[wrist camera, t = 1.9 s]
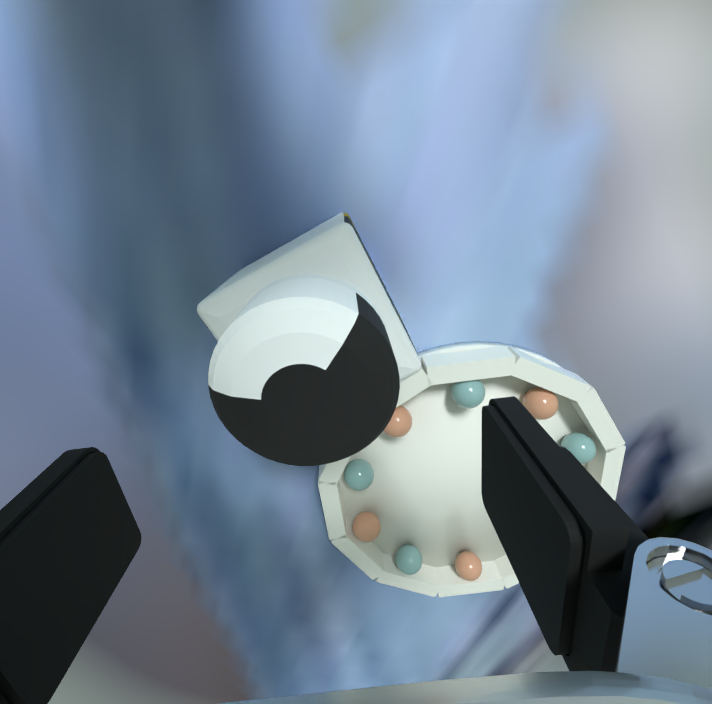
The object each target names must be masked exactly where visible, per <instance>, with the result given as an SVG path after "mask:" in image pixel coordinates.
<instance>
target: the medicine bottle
mask: <svg viewBox="0 0 712 704" xmlns="http://www.w3.org/2000/svg"><path fill="white" fill-rule="evenodd" d="M197 312H198V315H199V316H200V317H201V319H202V320H203V321H204V323H205V324H206V326H207V327H208V328H209V330H210V331H211V332H212V334H213V335H214V336H215V338H216V339H217V340H218V343H217V345H216V347H215V348H214V351H213V354H212V357H211V360H210V365H209V372H208V386H209V392H210V397H211V400H212V403H213V406H214V409H215V411H216V413H217V415H218V417H219V419H220V420H221V421H222V423H223V424H224V426H225V427H226V429H227V430H228V431H229V432H230V433H231V434H232V435H233V436H234V437H235V438H236V439H237V440H238V441H240V442H241V443H242V444H243V445H244V446H246V447H248V448H249V449H251V450H252V451H254V452H255V453H257V454H259V455H261V456H263V457H265V458H268V459H271V460H273V461H276V462H280V463H284V464H289V465H297V466H315V465H324V464H328V463H333V462H336V461H339V460H342V459H345V458H348V457H350V456H352V455H354V454H356V453H358V452H359V451H361V450H362V449H364V448H365V447H367V446H368V445H369V444H371V443H372V442H373V441H374V440H375V439H376V438H377V437H378V436H379V435H380V434H381V433H382V432H383V431H384V429H385V428H386V426H387V425H388V423H389V422H390V420H391V418H392V416H393V414H394V411H395V409H396V405H397V402H398V398H399V390H400V381H401V380H403V379H405V378H407V377H409V376H411V375H413V374H416V373H417V372H419V371H420V369H421V366H422V365H421V361H420V358H419V356H418V354H417V352H416V350H415V348H414V345H413V343H412V341H411V339H410V337H409V335H408V333H407V330H406V328H405V326H404V324H403V322H402V320H401V317H400V315H399V313H398V311H397V309H396V308H395V306H394V304H393V302H392V300H391V298H390V296H389V294H388V292H387V290H386V288H385V286H384V284H383V282H382V280H381V278H380V276H379V274H378V272H377V270H376V268H375V266H374V264H373V262H372V260H371V258H370V256H369V254H368V252H367V250H366V248H365V246H364V244H363V242H362V240H361V238H360V236H359V234H358V232H357V231H356V229H355V227H354V225H353V223H352V221H351V219H350V217H349V215H348V214H347V213H344V212H343V213H339V214H337V215H336V216H334V217H332V218H330V219H329V220H327V221H325V222H323V223H322V224H320V225H318V226H316V227H315V228H313V229H311V230H309V231H308V232H306V233H304V234H302V235H301V236H299V237H297V238H295V239H293V240H292V241H290V242H288V243H286V244H285V245H283V246H281V247H279V248H278V249H276V250H274V251H272V252H271V253H269V254H267V255H265V256H264V257H262V258H260V259H258V260H257V261H255V262H253V263H251V264H250V265H248V266H246V267H244V268H242V269H241V270H239V271H238V272H237V273H235V274H234V275H233V276H232V277H230V278H229V279H228V280H227V281H226V282H224V283H223V284H222V285H221V286H219V287H218V288H217V289H216V290H214V291H213V292H212V293H211V294H210V295H208V296H207V297H206V298H205V299H203V300H202V301H201V302H200V303H199V304H198V306H197Z"/></svg>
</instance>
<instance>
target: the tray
mask: <svg viewBox="0 0 712 704" xmlns="http://www.w3.org/2000/svg"><path fill="white" fill-rule="evenodd" d="M417 354H418V356H419V358H420V361H421V365H422V366H421V369H420V371H419V372H417V373H416V374H413V375H411V376H409V377H407V378H405V379H403V380H401V381H400V390H399V398H398V402H397V405H396V409H395V411H394V414H393V416H392V418H391V420H390V422H389V423H388V425H387V426H386V428H385V429H384V431H383V432H382V433H381V434H380V435H379V436H378V437H377V438H376V439H375V440H374V441H373V442H372V443H371V444H369V445H368V446H367V447H365V448H364V449H362V450H361V451H359V452H358V453H356V454H354V455H352V456H350V457H348V458H345V459H342V460H339V461H336V462H333V463H328V464H324V465H320V466H319V476H318V487H319V492H320V497H321V502H322V507H323V511H324V516H325V521H326V526H327V531H328V536H329V540H331V543H332V544H333V545H334V546H335V547H336V548H338V549H339V550H340V551H341V552H342V553H343V554H344V555H345V556H346V557H348V558H349V559H350V560H351V561H352V562H353V563H354V564H355V565H356V566H358V567H359V568H360V569H361V570H362V571H363V572H364V573H365V574H366V575H368V576H369V577H370V578H371V579H372V580H374V579H376V582H379V583H383V584H386V585H390V586H394V587H398V588H402V589H406V590H410V591H413V592H417V593H421V594H425V595H429V596H433V597H435V596H436V595H437V594H438V597H446V596H454V595H463V594H471V593H480V592H489V591H497V590H503V588H504V586H505V587H506V588H507V589H508V588H510V587H512V586H514V585H516V584H518V583H519V581H518V579H517V577H516V575H515V572H514V570H513V568H512V566H511V564H510V562H509V559H508V557H507V555H506V553H505V551H504V549H503V546H502V544H501V542H500V540H499V538H498V535H497V533H496V531H495V529H494V527H493V525H492V522H491V520H490V518H489V516H488V514H487V512H486V509H485V507H484V504H483V500H482V492H481V470H482V407H483V406H487V405H489V401H490V399H495V398H503V397H512V396H515V397H516V398H517V399H518V400H519V401H520V402H521V403H522V404H523V405H524V407H525V408H526V409H527V410H528V411H529V412H530V413H531V415H532V416H533V417H534V418H535V419H536V420H537V421H538V423H539V424H540V425H541V426H542V427H543V428H544V429H545V431H546V432H547V433H548V434H549V435H550V436H551V437H552V439H553V440H554V441H555V442H556V443H557V444H558V445H559V446H562V447H565V448H566V449H568V450H569V451H570V452H571V453H572V454H573V455H574V456H575V457H576V459H577V460H578V461H579V462H580V463H581V464H582V465H583V466H584V467H585V469H586V470H587V471H588V472H589V473H590V474H591V475H592V476H593V477H594V479H595V480H596V481H597V482H598V483H599V484H600V485H601V486H602V487H603V489H604V490H605V491H606V492H607V493H608V494H609V495H610V496H611V497H612V499H613V500H614V501H615V499H616V494H617V489H618V484H619V479H620V474H621V469H622V464H623V458H624V453H625V448H626V447H625V446H624V445H623V444H625V442H624V440H623V439H622V437H621V435H620V433H619V431H618V430H617V428H616V426H615V424H614V423H613V421H612V419H611V417H610V415H609V414H608V412H607V410H606V408H605V406H604V405H603V403H602V401H601V399H600V397H599V396H598V394H597V392H596V390H595V389H594V388H593V387H592V386H591V385H589V384H588V383H587V382H586V381H584V380H583V379H582V378H581V377H579V376H578V375H577V374H575V373H573V372H570V371H568V370H565V369H563V368H562V367H561V366H559V365H558V364H556V363H555V362H554V361H552V360H550V359H548V358H546V357H544V356H542V355H540V354H539V353H537V352H534V351H531V350H528V349H525V348H522V347H519V346H514V345H509V344H503V343H496V342H463V343H454V344H449V345H444V346H438V347H435V348H431V349H428V350H425V351H422V352H418V353H417Z"/></svg>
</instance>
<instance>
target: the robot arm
mask: <svg viewBox="0 0 712 704" xmlns="http://www.w3.org/2000/svg"><path fill="white" fill-rule="evenodd" d="M481 492H482V500H483V504H484V507H485V509H486V512H487V514H488V516H489V518H490V520H491V522H492V525H493V527H494V529H495V531H496V533H497V535H498V538H499V540H500V542H501V544H502V546H503V549H504V551H505V553H506V555H507V557H508V559H509V562H510V564H511V566H512V568H513V570H514V572H515V575H516V577H517V579H518V581H519V583H520V586H521V588H522V590H523V592H524V594H525V596H526V599H527V601H528V603H529V605H530V607H531V610H532V612H533V614H534V616H535V618H536V620H537V623H538V625H539V627H540V629H541V631H542V633H543V636H544V638H545V640H546V642H547V644H548V646H549V648H550V650H551V651H552V653H553V654H554V655H562V656H563V658H564V660H565V662H566V665H567V667H568V669H569V671H567V672H536V673H524V674H512V675H499V676H487V677H475V678H463V679H451V680H439V681H429V682H419V683H409V684H400V685H390V686H380V687H371V688H361V689H351V690H342V691H332V692H322V693H313V694H303V695H293V696H284V697H274V698H265V699H256V700H247V701H237V702H229V703H219V704H712V550H709V549H707V548H705V547H702V546H700V545H698V544H695V543H692V542H688V541H684V540H680V539H676V538H662V537H660V538H655V539H649V538H648V537H647V536H646V535H645V534H644V533H643V532H642V531H641V530H640V529H639V527H638V526H637V525H636V524H635V523H634V522H633V521H632V520H631V519H630V517H629V516H628V515H627V514H626V513H625V512H624V511H623V510H622V509H621V507H620V506H619V505H618V504H617V503H616V502H615V501H614V500H613V499H612V497H611V496H610V495H609V494H608V493H607V492H606V491H605V490H604V489H603V487H602V486H601V485H600V484H599V483H598V482H597V481H596V480H595V479H594V477H593V476H592V475H591V474H590V473H589V472H588V471H587V470H586V469H585V467H584V466H583V465H582V464H581V463H580V462H579V461H578V460H577V459H576V457H575V456H574V455H573V454H572V453H571V452H570V451H569V450H568V449H566V448H565V447H562V446H559V445H558V444H557V443H556V442H555V441H554V440H553V439H552V437H551V436H550V435H549V434H548V433H547V432H546V431H545V429H544V428H543V427H542V426H541V425H540V424H539V423H538V421H537V420H536V419H535V418H534V417H533V416H532V415H531V413H530V412H529V411H528V410H527V409H526V408H525V407H524V405H523V404H522V403H521V402H520V401H519V400H518V399H517V398H516V397H515V396H512V397H503V398H495V399H490V401H489V405H487V406H483V407H482V470H481ZM140 543H141V533H140V530H139V528H138V526H137V523H136V521H135V519H134V517H133V514H132V512H131V510H130V508H129V505H128V503H127V501H126V499H125V496H124V494H123V492H122V490H121V487H120V485H119V483H118V481H117V478H116V476H115V474H114V471H113V469H112V467H111V465H110V462H109V460H108V458H107V456H106V455H105V454H104V453H102V452H100V451H99V450H98V449H96V448H94V447H90V448H82V449H74V450H68V451H66V452H64V453H63V454H62V455H61V456H60V457H59V458H58V459H56V460H55V461H54V462H53V463H52V464H51V465H50V466H49V467H48V468H46V469H45V470H44V471H43V472H42V473H41V474H40V475H39V476H38V477H37V478H35V479H34V480H33V481H32V482H31V483H30V484H29V485H28V486H27V487H26V488H24V489H23V490H22V491H21V492H20V493H19V494H18V495H17V496H16V497H14V498H13V499H12V500H11V501H10V502H9V503H8V504H7V505H6V506H5V507H3V508H2V509H1V510H0V704H47V703H48V702H49V700H50V699H51V697H52V696H53V694H54V692H55V691H56V689H57V687H58V685H59V684H60V682H61V680H62V679H63V677H64V675H65V674H66V672H67V670H68V668H69V667H70V665H71V663H72V661H73V660H74V658H75V656H76V655H77V653H78V651H79V649H80V647H81V646H82V644H83V643H84V641H85V639H86V638H87V636H88V634H89V633H90V631H91V629H92V627H93V626H94V624H95V622H96V621H97V619H98V617H99V615H100V614H101V612H102V610H103V609H104V607H105V605H106V604H107V602H108V600H109V598H110V597H111V595H112V593H113V592H114V589H115V588H116V587H117V585H118V583H119V581H120V579H121V578H122V576H123V575H124V573H125V571H126V569H127V568H128V566H129V564H130V562H131V561H132V559H133V558H134V556H135V554H136V552H137V551H138V549H139V546H140Z"/></svg>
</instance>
